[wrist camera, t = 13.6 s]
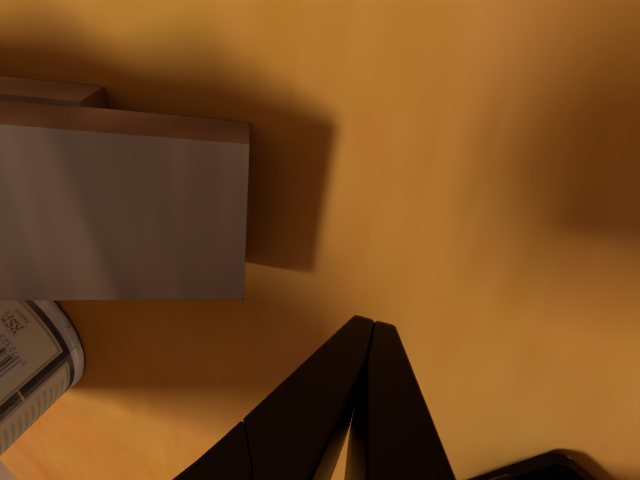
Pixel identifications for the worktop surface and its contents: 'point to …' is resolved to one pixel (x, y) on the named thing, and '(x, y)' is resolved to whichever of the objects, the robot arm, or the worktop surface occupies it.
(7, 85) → the domino
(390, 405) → the robot arm
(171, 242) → the domino
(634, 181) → the worktop surface
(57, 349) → the coffee can
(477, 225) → the worktop surface
